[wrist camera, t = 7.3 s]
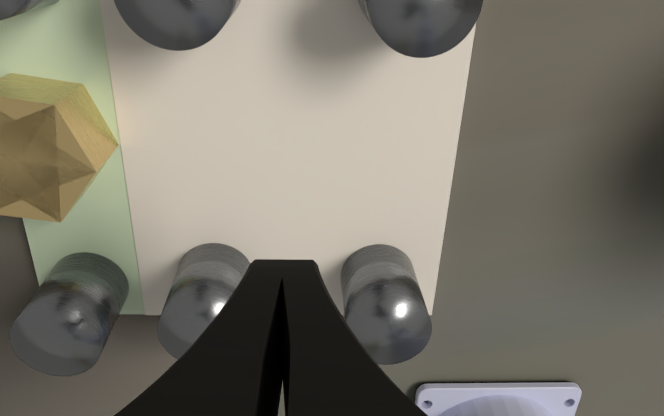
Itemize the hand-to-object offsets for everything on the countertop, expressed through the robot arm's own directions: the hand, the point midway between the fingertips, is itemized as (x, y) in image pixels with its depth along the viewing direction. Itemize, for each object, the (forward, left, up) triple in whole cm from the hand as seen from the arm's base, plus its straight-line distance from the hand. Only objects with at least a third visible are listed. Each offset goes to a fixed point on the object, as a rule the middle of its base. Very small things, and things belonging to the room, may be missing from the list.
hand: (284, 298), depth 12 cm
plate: (0, +2, -10) cm, 10 cm away
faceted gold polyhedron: (0, +8, -9) cm, 12 cm away
